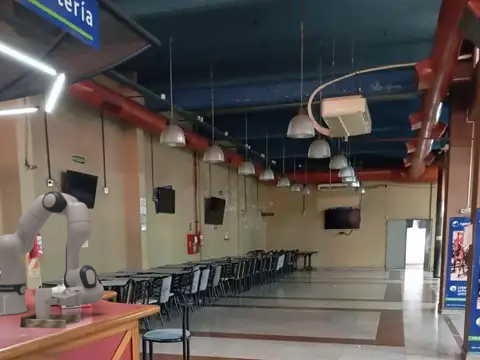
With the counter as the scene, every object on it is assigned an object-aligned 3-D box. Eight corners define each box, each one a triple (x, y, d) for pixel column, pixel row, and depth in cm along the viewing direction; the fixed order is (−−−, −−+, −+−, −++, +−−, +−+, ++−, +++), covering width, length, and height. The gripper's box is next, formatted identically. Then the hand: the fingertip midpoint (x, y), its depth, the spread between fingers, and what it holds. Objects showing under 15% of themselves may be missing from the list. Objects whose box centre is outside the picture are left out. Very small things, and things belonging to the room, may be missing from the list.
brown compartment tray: (20, 327, 192) (20, 317, 192) (38, 320, 204) (38, 311, 205) (63, 328, 188) (64, 318, 189) (79, 321, 201) (80, 312, 202)
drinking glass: (44, 325, 193) (46, 289, 195) (30, 325, 194) (32, 289, 196) (54, 322, 200) (55, 287, 201) (40, 322, 201) (41, 287, 203)
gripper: (59, 288, 215) (30, 291, 204) (83, 291, 202) (53, 295, 191) (58, 301, 214) (29, 306, 204) (82, 306, 201) (53, 311, 191)
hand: (41, 301), depth 197 cm, fingers closed on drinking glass, 6 cm apart
